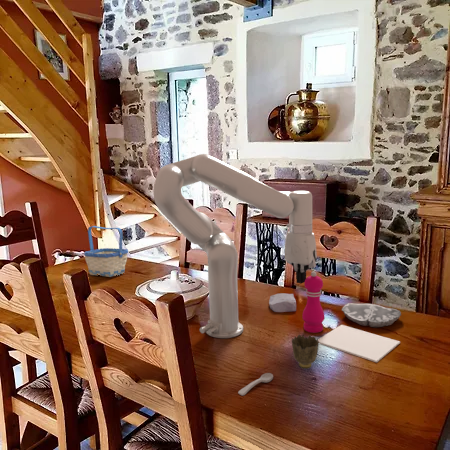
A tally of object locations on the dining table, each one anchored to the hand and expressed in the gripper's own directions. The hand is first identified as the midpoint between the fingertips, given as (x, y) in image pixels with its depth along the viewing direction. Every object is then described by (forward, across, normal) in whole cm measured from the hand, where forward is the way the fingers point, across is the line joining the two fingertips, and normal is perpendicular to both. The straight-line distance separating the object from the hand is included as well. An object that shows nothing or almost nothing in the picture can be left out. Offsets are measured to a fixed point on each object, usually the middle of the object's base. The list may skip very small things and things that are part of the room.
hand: (301, 282), depth 152 cm
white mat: (+15, +21, -1) cm, 26 cm away
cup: (+15, +17, -24) cm, 33 cm away
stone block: (+16, -16, +10) cm, 24 cm away
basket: (+15, -106, -8) cm, 108 cm away
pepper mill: (+15, +5, 0) cm, 16 cm away
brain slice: (+16, +16, +18) cm, 29 cm away
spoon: (+16, +12, -40) cm, 44 cm away
